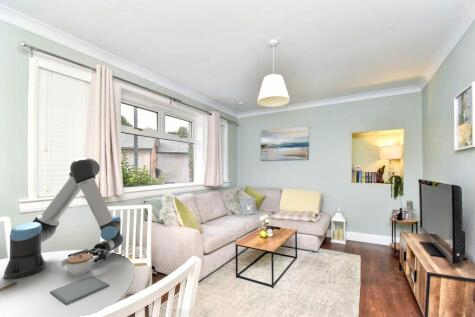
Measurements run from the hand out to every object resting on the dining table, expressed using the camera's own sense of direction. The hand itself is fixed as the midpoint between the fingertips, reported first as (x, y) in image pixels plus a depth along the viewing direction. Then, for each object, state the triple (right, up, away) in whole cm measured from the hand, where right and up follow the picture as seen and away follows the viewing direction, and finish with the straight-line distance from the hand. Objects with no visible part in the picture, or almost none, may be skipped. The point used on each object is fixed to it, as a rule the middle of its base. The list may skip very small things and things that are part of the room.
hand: (75, 263), depth 108 cm
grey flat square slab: (+11, -5, -12) cm, 17 cm away
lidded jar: (0, -6, +3) cm, 7 cm away
